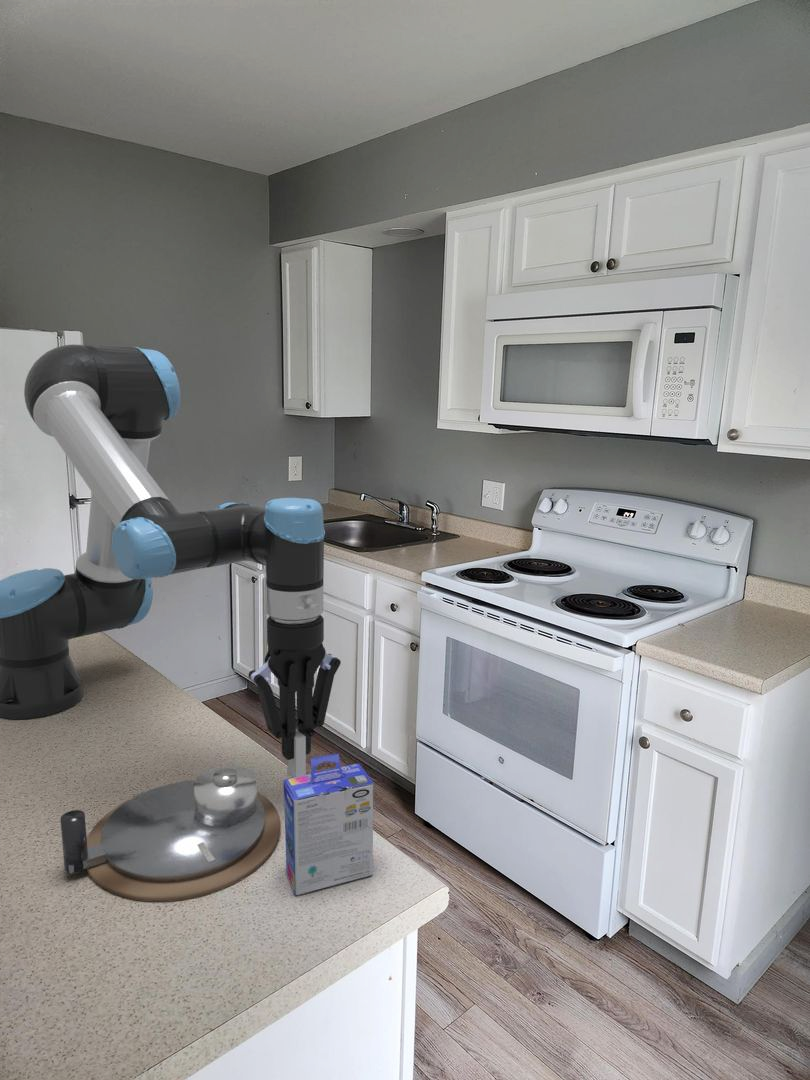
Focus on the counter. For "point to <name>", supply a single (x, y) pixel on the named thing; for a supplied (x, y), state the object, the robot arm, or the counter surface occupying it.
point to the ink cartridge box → (328, 826)
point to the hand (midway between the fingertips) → (296, 776)
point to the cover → (225, 795)
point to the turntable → (160, 838)
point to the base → (186, 888)
